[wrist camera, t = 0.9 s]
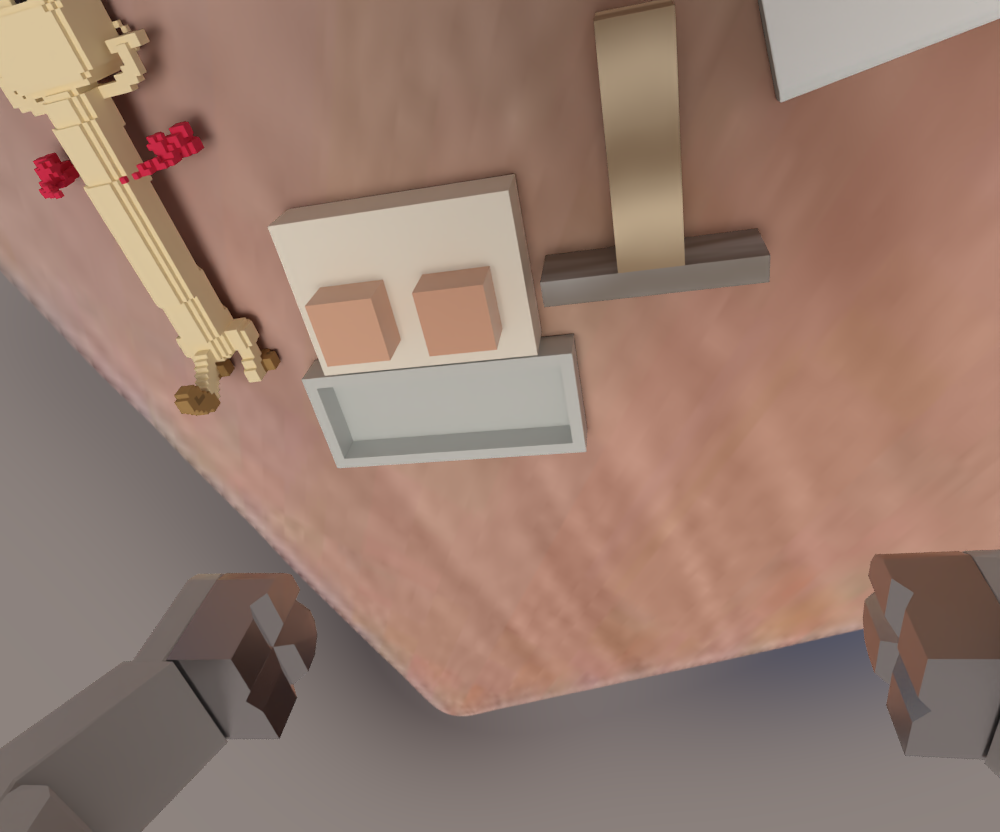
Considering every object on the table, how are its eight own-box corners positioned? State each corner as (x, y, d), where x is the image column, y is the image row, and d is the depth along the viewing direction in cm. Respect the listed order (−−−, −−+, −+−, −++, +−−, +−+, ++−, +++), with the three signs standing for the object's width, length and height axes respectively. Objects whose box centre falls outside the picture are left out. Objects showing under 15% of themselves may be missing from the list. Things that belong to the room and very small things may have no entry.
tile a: (319, 287, 41) (304, 306, 39) (383, 279, 40) (370, 298, 38) (340, 346, 43) (327, 366, 41) (401, 339, 42) (390, 360, 40)
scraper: (510, 29, 34) (500, 39, 31) (762, -22, 32) (779, -16, 29) (549, 277, 42) (544, 307, 39) (756, 253, 39) (769, 282, 36)
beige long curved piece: (316, 343, 48) (113, -82, 33) (270, 423, 42) (-8, -63, 27) (194, 360, 51) (-47, -29, 36) (133, 439, 44) (-195, 1, 29)
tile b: (422, 274, 39) (411, 293, 37) (489, 265, 39) (482, 284, 36) (438, 335, 42) (429, 356, 40) (502, 329, 41) (496, 349, 39)
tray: (314, 360, 47) (301, 379, 45) (573, 333, 44) (571, 353, 42) (348, 447, 52) (337, 468, 50) (587, 429, 48) (586, 451, 46)
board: (287, 209, 41) (267, 226, 39) (514, 173, 38) (508, 190, 36) (339, 352, 47) (324, 375, 44) (541, 331, 44) (537, 355, 41)
